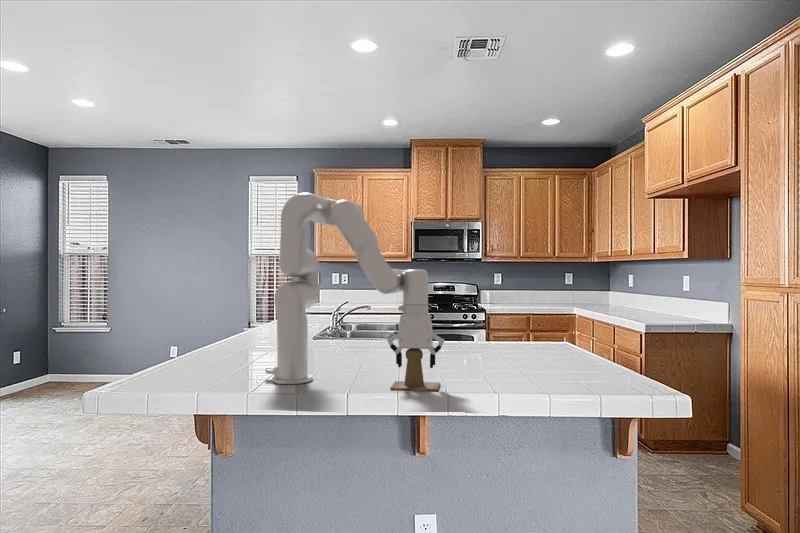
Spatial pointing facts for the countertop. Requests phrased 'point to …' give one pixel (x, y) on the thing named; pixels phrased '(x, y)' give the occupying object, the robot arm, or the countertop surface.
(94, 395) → the countertop surface
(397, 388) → the walnut board
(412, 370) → the cork
